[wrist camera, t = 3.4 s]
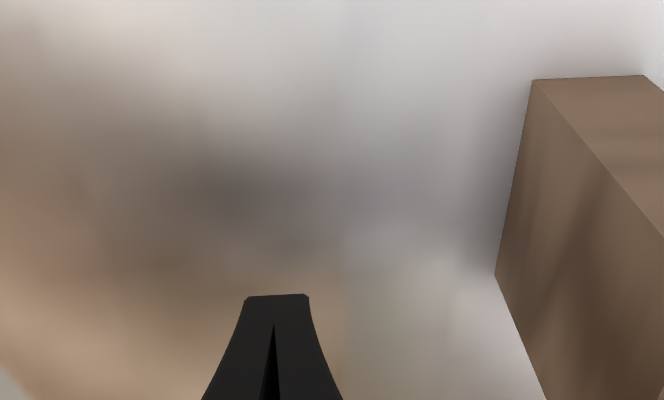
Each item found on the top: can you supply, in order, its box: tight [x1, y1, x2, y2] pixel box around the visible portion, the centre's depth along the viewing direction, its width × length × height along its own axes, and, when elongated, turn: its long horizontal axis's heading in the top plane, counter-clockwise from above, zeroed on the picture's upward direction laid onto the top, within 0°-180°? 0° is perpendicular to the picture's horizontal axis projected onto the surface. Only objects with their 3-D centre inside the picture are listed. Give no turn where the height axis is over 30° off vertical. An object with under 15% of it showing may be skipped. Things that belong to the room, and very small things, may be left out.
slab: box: [495, 75, 664, 400], centre depth 14 cm, size 7×3×8 cm, turn 1°
